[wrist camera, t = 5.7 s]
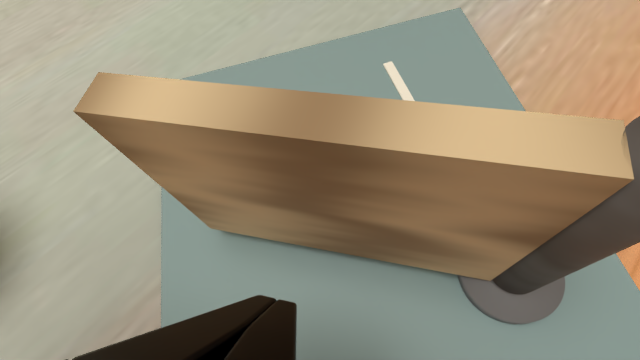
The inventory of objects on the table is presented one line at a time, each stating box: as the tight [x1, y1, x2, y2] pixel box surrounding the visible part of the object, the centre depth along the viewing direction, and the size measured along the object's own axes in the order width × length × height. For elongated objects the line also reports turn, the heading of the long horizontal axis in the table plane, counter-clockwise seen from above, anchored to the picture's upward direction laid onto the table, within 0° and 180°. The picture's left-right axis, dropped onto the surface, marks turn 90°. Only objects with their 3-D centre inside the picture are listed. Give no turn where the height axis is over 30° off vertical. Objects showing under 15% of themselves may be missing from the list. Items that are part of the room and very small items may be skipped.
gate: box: [74, 72, 640, 295], centre depth 11 cm, size 13×2×8 cm, turn 77°
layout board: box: [161, 8, 640, 360], centre depth 16 cm, size 22×18×1 cm
